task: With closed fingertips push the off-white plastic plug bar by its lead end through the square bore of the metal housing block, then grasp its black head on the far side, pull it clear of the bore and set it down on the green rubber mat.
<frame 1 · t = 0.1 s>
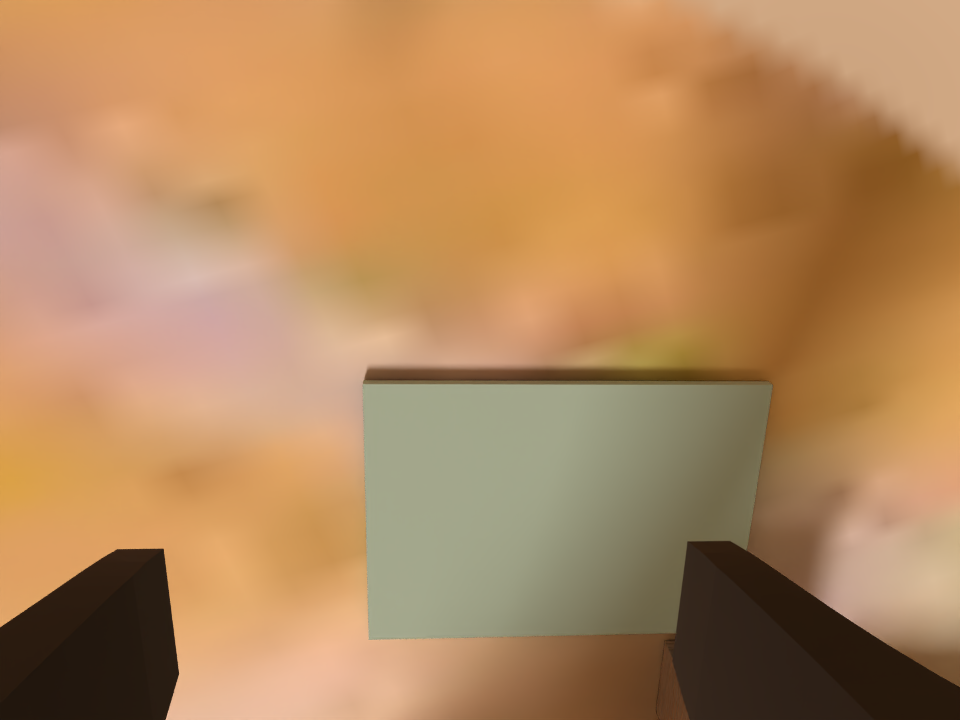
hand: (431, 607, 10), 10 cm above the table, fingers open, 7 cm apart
mat: (560, 512, 22), on the table
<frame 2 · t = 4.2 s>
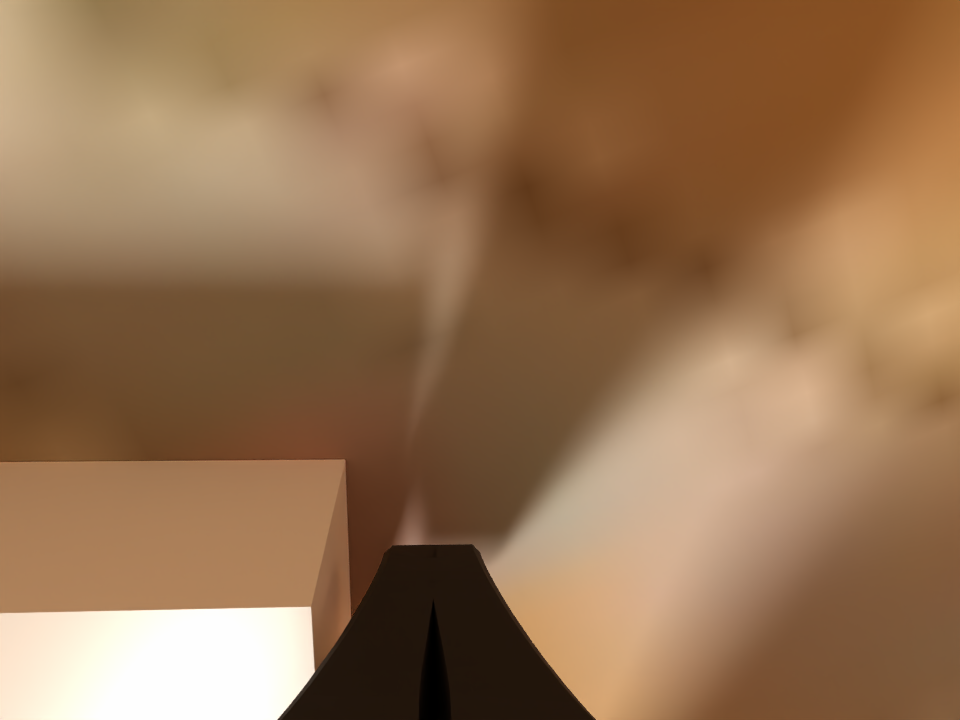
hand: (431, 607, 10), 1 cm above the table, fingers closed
plug: (58, 566, 11), on the table, touching gripper
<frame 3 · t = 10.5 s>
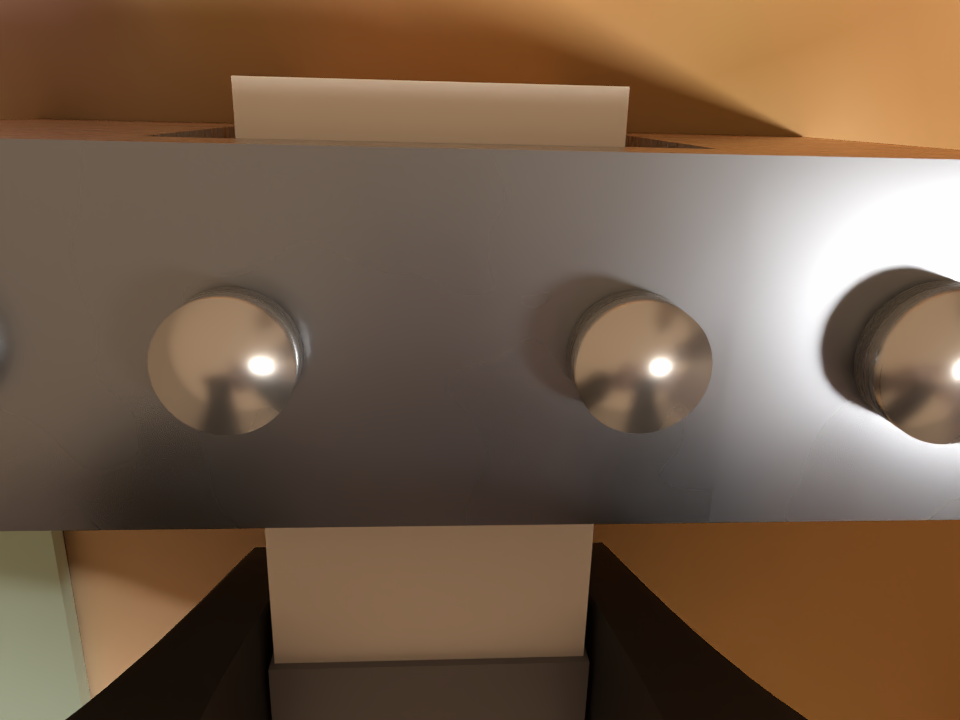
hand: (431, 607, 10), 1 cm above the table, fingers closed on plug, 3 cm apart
housing: (433, 243, 10), on the table
plug: (430, 399, 11), on the table, touching gripper
when the fingers open (3 cm above the table, at t = 14.9 s): plug stays where it is, resting on mat.
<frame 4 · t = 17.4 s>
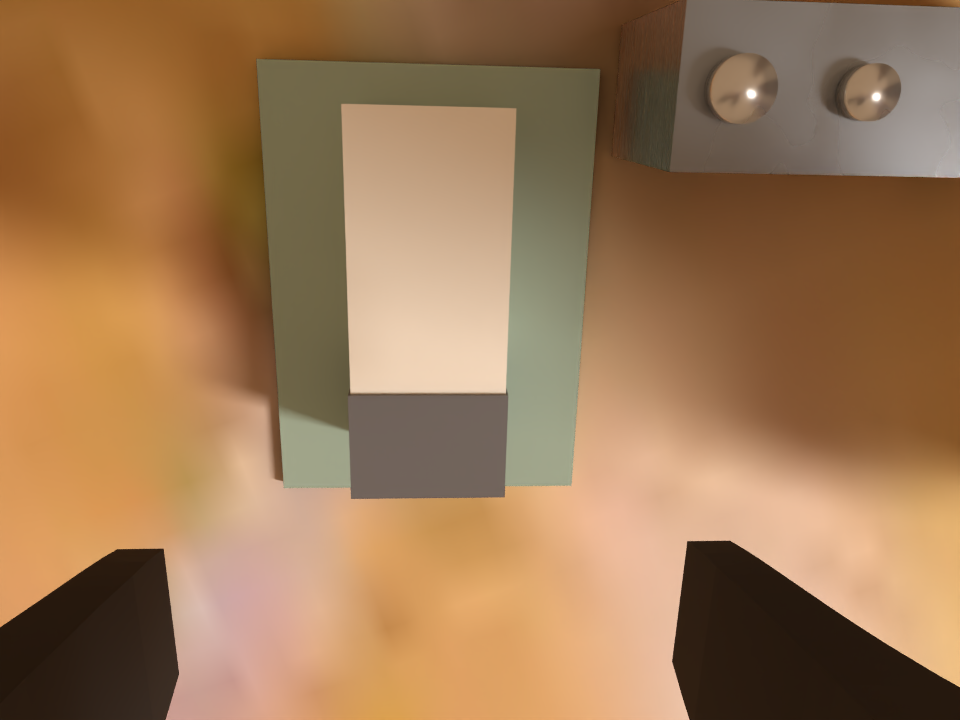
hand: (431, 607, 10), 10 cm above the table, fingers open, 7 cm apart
housing: (815, 97, 19), on the table
plug: (428, 282, 19), resting on mat
mat: (430, 291, 20), on the table
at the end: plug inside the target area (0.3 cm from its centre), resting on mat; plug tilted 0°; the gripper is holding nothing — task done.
